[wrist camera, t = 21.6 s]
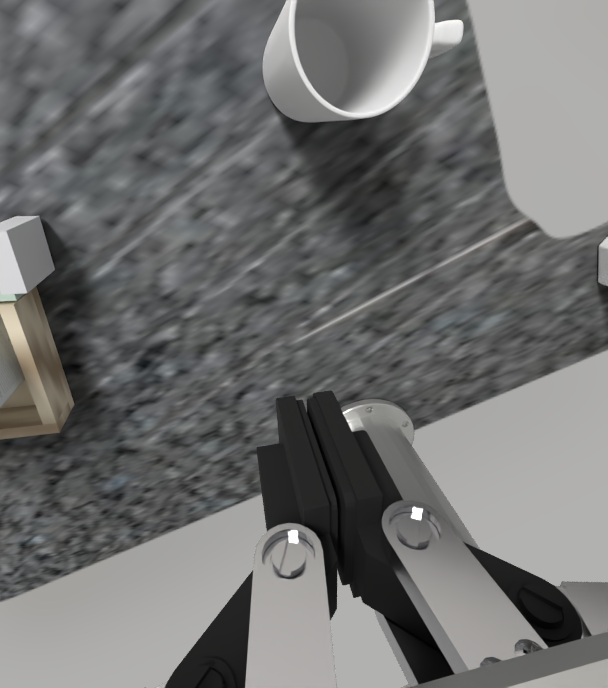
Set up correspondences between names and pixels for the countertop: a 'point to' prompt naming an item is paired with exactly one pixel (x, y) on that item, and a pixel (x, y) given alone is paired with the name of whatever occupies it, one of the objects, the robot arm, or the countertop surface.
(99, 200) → the countertop surface
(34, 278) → the gate
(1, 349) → the skincare box
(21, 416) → the wooden tray
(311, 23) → the mug
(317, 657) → the robot arm
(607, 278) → the jar
